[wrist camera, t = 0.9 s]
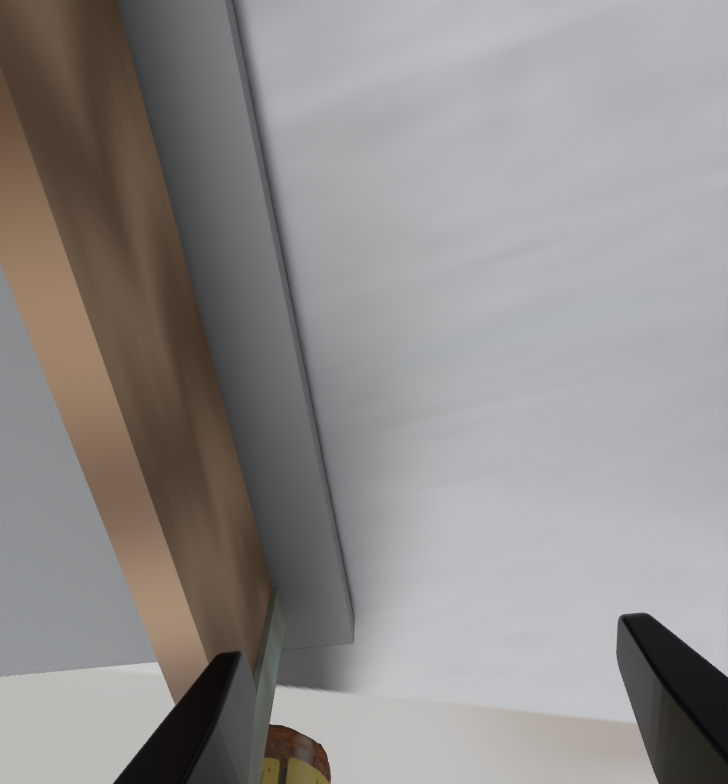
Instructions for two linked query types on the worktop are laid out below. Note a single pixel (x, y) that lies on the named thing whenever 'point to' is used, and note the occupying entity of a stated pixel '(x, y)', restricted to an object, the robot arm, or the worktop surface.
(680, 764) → the robot arm
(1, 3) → the gate
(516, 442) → the worktop surface
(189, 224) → the gate frame
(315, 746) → the sauce bottle
